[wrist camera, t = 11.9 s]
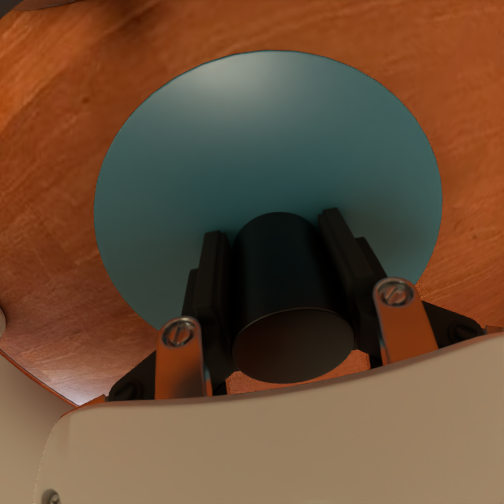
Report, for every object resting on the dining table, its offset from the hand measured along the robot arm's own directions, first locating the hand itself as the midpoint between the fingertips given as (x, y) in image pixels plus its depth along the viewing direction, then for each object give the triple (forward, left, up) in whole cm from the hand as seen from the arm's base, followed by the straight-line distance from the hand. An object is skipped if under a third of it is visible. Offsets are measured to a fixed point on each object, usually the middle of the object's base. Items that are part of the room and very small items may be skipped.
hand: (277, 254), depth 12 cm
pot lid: (0, 0, -1) cm, 1 cm away
